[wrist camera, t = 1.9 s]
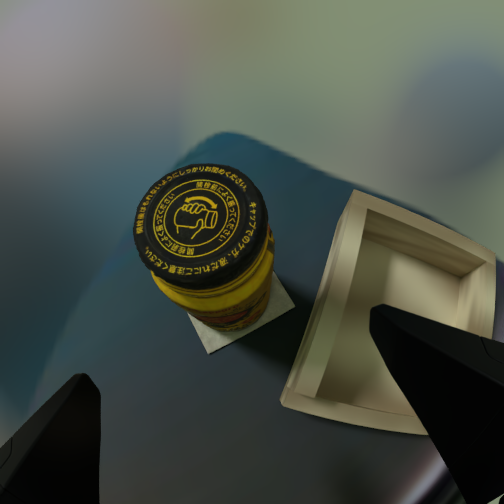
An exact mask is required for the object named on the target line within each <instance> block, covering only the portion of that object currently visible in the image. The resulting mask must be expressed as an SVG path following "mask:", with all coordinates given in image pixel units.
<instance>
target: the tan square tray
mask: <svg viewBox="0 0 504 504" xmlns="http://www.w3.org/2000/svg"><path fill="white" fill-rule="evenodd" d="M495 286H496V266H495V253H494V252H492V251H491V250H489V249H487V248H485V247H483V246H481V245H479V244H478V243H476V242H474V241H472V240H470V239H468V238H466V237H464V236H462V235H460V234H458V233H456V232H454V231H452V230H450V229H448V228H446V227H444V226H442V225H439V224H437V223H435V222H433V221H431V220H429V219H426V218H424V217H422V216H420V215H417V214H415V213H413V212H410V211H408V210H406V209H403V208H401V207H398V206H396V205H394V204H391V203H389V202H386V201H384V200H381V199H379V198H376V197H373V196H371V195H368V194H366V193H363V192H360V191H357V190H355V189H354V191H353V193H352V195H351V197H350V199H349V201H348V203H347V205H346V207H345V209H344V211H343V213H342V215H341V217H340V219H339V221H338V223H337V227H336V231H335V234H334V238H333V242H332V246H331V249H330V253H329V256H328V260H327V263H326V267H325V270H324V274H323V277H322V280H321V284H320V287H319V290H318V293H317V297H316V300H315V303H314V306H313V309H312V312H311V315H310V318H309V321H308V324H307V327H306V330H305V333H304V336H303V339H302V342H301V344H300V347H299V350H298V353H297V356H296V358H295V361H294V364H293V366H292V369H291V372H290V374H289V377H288V379H287V382H286V385H285V387H284V390H283V392H282V395H281V397H280V401H281V403H282V405H283V406H285V407H288V408H291V409H295V410H298V411H302V412H305V413H309V414H313V415H316V416H320V417H324V418H328V419H332V420H337V421H341V422H346V423H350V424H355V425H360V426H366V427H371V428H377V429H383V430H390V431H397V432H404V433H413V434H423V435H428V433H427V431H426V430H425V428H424V426H423V425H422V423H421V421H420V420H419V418H418V417H417V415H416V413H415V412H414V410H413V409H412V407H411V405H410V404H409V402H408V401H407V399H406V397H405V396H404V394H403V393H402V391H401V390H400V388H399V387H398V385H397V383H396V382H395V380H394V379H393V377H392V376H391V374H390V372H389V370H388V369H387V367H386V365H385V363H384V361H383V359H382V357H381V355H380V353H379V351H378V349H377V347H376V345H375V343H374V341H373V339H372V337H371V335H370V332H369V318H370V309H371V308H372V307H373V306H376V305H379V304H382V303H384V304H387V305H390V306H393V307H396V308H399V309H402V310H405V311H408V312H411V313H414V314H417V315H420V316H423V317H426V318H429V319H432V320H435V321H437V322H440V323H443V324H447V325H450V326H453V327H456V328H459V329H462V330H465V331H468V332H471V333H474V334H477V335H479V336H483V337H486V338H489V339H492V331H493V322H494V309H495Z"/></svg>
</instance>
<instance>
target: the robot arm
mask: <svg viewBox="0 0 504 504" xmlns="http://www.w3.org/2000/svg"><path fill="white" fill-rule="evenodd" d="M369 332H370V335H371V337H372V339H373V341H374V343H375V345H376V347H377V349H378V351H379V353H380V355H381V357H382V359H383V361H384V363H385V365H386V367H387V369H388V370H389V372H390V374H391V376H392V377H393V379H394V380H395V382H396V383H397V385H398V387H399V388H400V390H401V391H402V393H403V394H404V396H405V397H406V399H407V401H408V402H409V404H410V405H411V407H412V409H413V410H414V412H415V413H416V415H417V417H418V418H419V420H420V421H421V423H422V425H423V426H424V428H425V430H426V431H427V433H428V435H429V436H430V438H431V440H432V441H433V443H434V445H435V447H436V448H437V450H438V452H439V453H440V455H441V457H442V459H443V460H444V462H445V464H446V466H447V467H448V468H449V471H450V473H451V475H452V477H453V479H454V480H455V482H456V484H457V486H458V488H459V490H460V492H461V494H462V495H463V497H464V499H465V501H466V503H467V504H487V503H489V502H491V501H492V500H494V499H496V498H497V497H499V496H501V495H502V494H504V343H502V342H499V341H495V340H492V339H489V338H486V337H483V336H479V335H477V334H474V333H471V332H468V331H465V330H462V329H459V328H456V327H453V326H450V325H447V324H443V323H440V322H437V321H435V320H432V319H429V318H426V317H423V316H420V315H417V314H414V313H411V312H408V311H405V310H402V309H399V308H396V307H393V306H390V305H387V304H384V303H382V304H379V305H376V306H373V307H372V308H371V309H370V318H369ZM100 442H101V395H100V391H99V389H98V388H97V387H96V385H95V384H94V383H93V381H92V380H91V378H90V377H89V376H88V375H87V374H86V373H78V374H74V375H73V376H72V377H71V378H70V379H69V380H68V381H67V382H66V383H65V384H64V385H63V386H62V387H61V388H60V389H59V390H58V391H57V392H56V393H55V394H54V395H53V396H52V397H51V398H50V399H49V400H47V401H46V402H45V403H44V404H43V405H42V406H41V407H40V408H39V409H38V410H37V411H36V412H35V413H34V414H33V415H32V416H31V417H30V418H29V419H28V420H27V421H26V422H25V423H24V424H23V425H22V427H21V428H20V429H19V430H18V431H17V432H16V433H15V434H14V435H13V437H11V438H10V439H9V440H8V441H7V442H6V443H5V444H4V445H3V446H2V447H1V448H0V504H100V503H99V462H100ZM499 504H504V495H503V496H502V497H501V498H500V500H499Z"/></svg>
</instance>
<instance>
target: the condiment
mask: <svg viewBox="0 0 504 504" xmlns="http://www.w3.org/2000/svg"><path fill="white" fill-rule="evenodd" d="M133 235H134V241H135V245H136V247H137V250H138V252H139V256H140V258H141V260H142V262H143V263H144V264H145V266H146V267H147V268H148V269H149V270H150V271H151V274H152V276H153V278H154V281H155V283H156V284H157V285H158V287H159V288H160V290H161V291H162V292H163V293H164V294H165V295H166V296H167V297H169V299H170V300H171V301H172V302H174V303H175V304H176V305H177V306H179V307H180V308H182V309H184V310H185V311H186V312H187V313H188V315H189V317H190V319H191V321H192V323H193V325H194V327H195V329H196V331H197V333H198V335H199V337H200V339H201V341H202V343H203V345H204V347H205V349H206V351H207V353H208V354H209V353H211V352H213V351H215V350H217V349H219V348H221V347H223V346H225V345H227V344H229V343H231V342H233V341H235V340H236V339H238V338H240V337H242V336H244V335H246V334H248V333H250V332H251V331H253V330H255V329H257V328H259V327H260V326H262V325H264V324H266V323H268V322H269V321H271V320H273V319H275V318H276V317H278V316H280V315H281V314H283V313H285V312H287V311H288V310H290V309H292V308H294V307H295V305H294V303H293V302H292V300H291V299H290V297H289V295H288V294H287V292H286V291H285V289H284V287H283V286H282V284H281V282H280V281H279V279H278V278H277V276H276V274H275V273H274V271H273V264H274V252H275V248H274V244H275V240H274V238H273V233H272V231H271V229H270V226H269V224H268V212H267V208H266V205H265V201H264V200H263V196H262V194H261V192H260V191H259V189H258V188H257V187H256V186H255V185H254V183H253V182H252V181H251V180H250V179H249V178H248V177H247V176H246V175H245V174H243V173H242V172H240V171H239V170H238V169H235V168H232V167H230V166H226V165H219V164H209V163H208V164H191V165H188V166H185V167H182V168H179V169H177V170H175V171H173V172H171V173H168V174H166V175H165V176H164V177H163V178H161V179H160V180H158V181H157V182H155V183H154V184H153V185H152V186H151V187H150V189H149V190H148V192H147V193H146V194H145V196H144V197H143V199H142V200H141V202H140V204H139V205H138V207H137V212H136V216H135V222H134V227H133Z"/></svg>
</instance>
